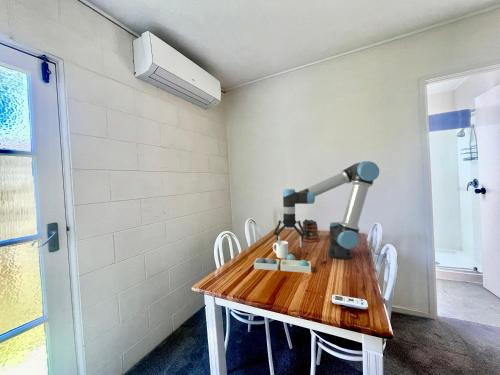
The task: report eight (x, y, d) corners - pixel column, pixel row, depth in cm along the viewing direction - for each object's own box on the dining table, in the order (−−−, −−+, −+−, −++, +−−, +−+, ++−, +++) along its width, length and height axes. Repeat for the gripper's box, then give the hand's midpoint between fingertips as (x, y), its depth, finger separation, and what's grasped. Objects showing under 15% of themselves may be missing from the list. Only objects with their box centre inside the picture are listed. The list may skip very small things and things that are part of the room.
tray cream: (310, 267, 123) (310, 261, 123) (311, 274, 115) (310, 267, 115) (282, 265, 127) (281, 259, 127) (280, 271, 119) (280, 264, 119)
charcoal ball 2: (277, 265, 127) (276, 256, 126) (275, 269, 121) (275, 260, 121) (268, 264, 128) (268, 256, 128) (266, 268, 123) (266, 259, 122)
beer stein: (315, 244, 166) (315, 220, 165) (298, 242, 173) (297, 219, 172) (320, 238, 182) (320, 216, 181) (304, 236, 189) (303, 215, 189)
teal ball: (295, 261, 133) (295, 253, 133) (295, 264, 128) (294, 256, 128) (286, 260, 135) (286, 252, 135) (286, 264, 130) (286, 255, 129)
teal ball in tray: (308, 267, 122) (308, 258, 122) (308, 271, 116) (308, 262, 116) (298, 267, 123) (298, 258, 123) (298, 271, 118) (298, 261, 118)
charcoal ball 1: (266, 264, 128) (266, 256, 128) (265, 268, 123) (264, 259, 123) (258, 264, 130) (258, 255, 129) (256, 267, 124) (256, 258, 124)
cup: (284, 260, 136) (284, 245, 136) (269, 256, 144) (269, 242, 144) (290, 256, 142) (290, 242, 142) (276, 252, 150) (275, 239, 150)
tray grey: (279, 265, 128) (278, 259, 127) (277, 271, 120) (277, 264, 120) (257, 264, 131) (256, 258, 131) (254, 269, 123) (253, 263, 123)
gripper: (309, 212, 131) (309, 245, 132) (270, 211, 137) (271, 242, 138) (309, 214, 124) (310, 248, 124) (269, 213, 130) (269, 246, 131)
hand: (289, 245), depth 131 cm, fingers open, 13 cm apart
